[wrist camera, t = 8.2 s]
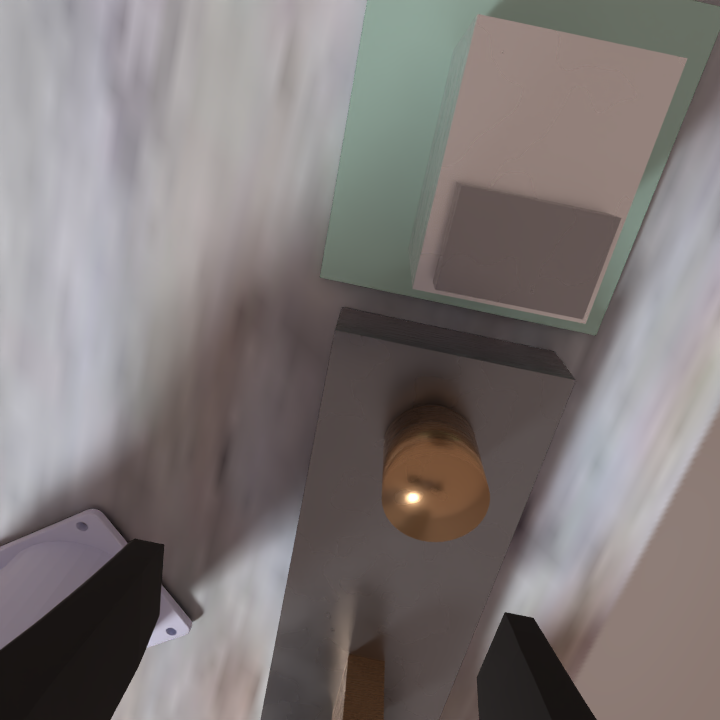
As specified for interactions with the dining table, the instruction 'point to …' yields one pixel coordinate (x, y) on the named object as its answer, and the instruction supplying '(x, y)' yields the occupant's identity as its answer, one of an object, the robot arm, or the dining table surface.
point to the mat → (421, 110)
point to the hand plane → (406, 514)
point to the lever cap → (535, 165)
